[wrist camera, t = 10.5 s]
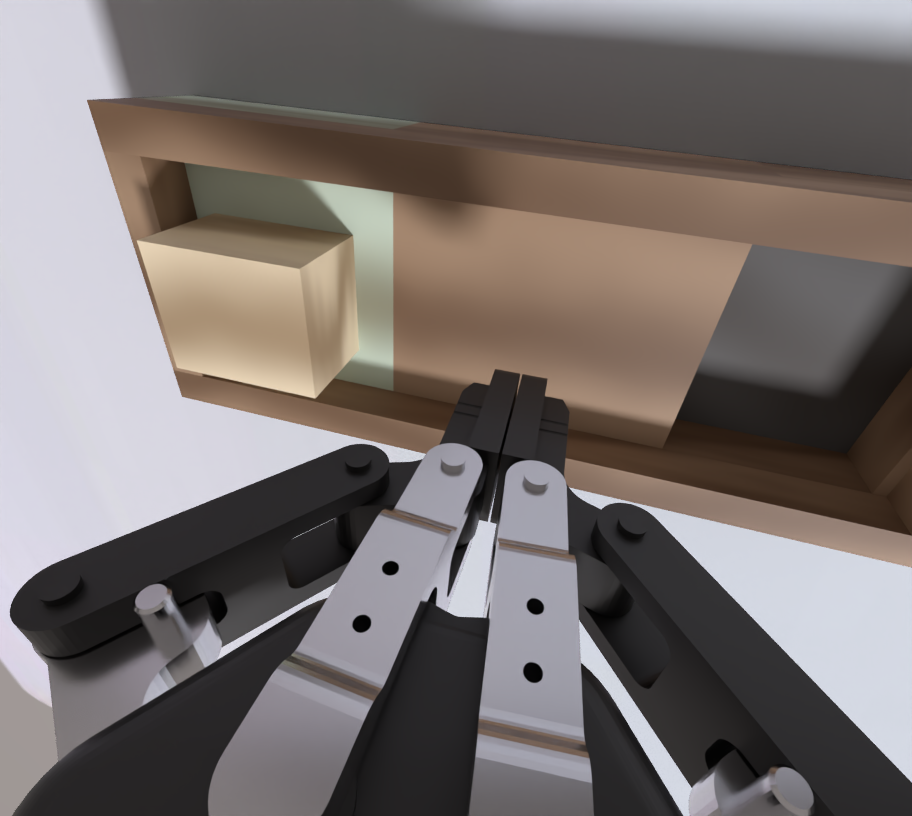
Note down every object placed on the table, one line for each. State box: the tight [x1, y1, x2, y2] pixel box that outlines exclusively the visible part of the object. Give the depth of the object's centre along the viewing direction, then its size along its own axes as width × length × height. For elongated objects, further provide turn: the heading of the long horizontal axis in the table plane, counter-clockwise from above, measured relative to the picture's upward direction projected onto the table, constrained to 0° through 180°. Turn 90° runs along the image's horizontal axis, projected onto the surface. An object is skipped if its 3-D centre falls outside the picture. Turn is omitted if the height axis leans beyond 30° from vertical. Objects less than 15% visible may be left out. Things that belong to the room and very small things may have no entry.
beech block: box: [137, 213, 359, 398], centre depth 18 cm, size 5×6×4 cm
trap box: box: [87, 95, 912, 567], centre depth 19 cm, size 12×32×5 cm, turn 86°
